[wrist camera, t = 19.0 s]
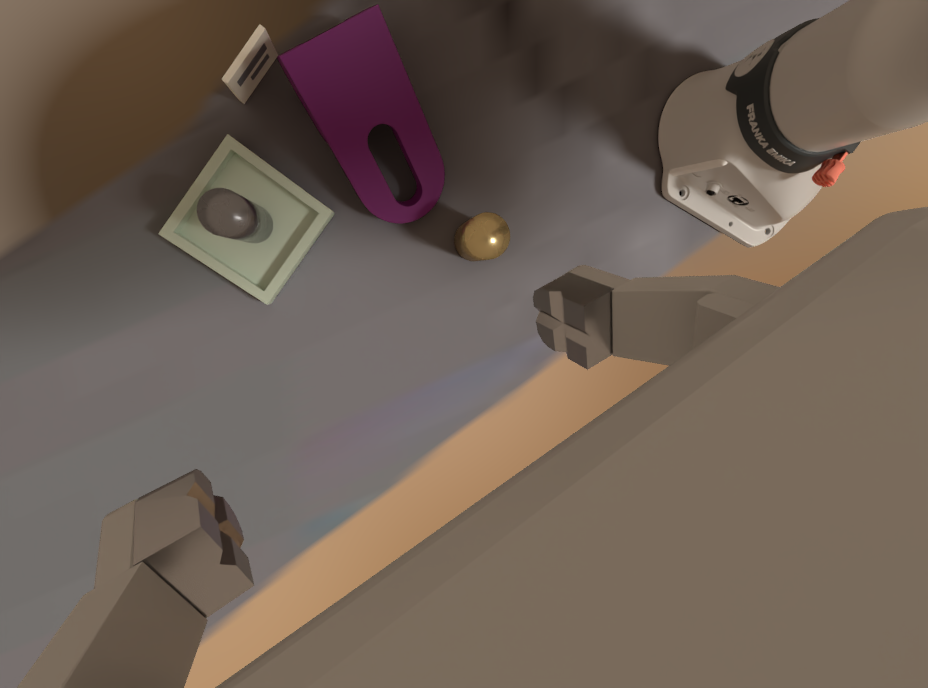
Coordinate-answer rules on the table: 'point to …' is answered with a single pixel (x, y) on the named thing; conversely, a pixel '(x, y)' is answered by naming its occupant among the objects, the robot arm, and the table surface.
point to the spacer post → (233, 216)
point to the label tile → (250, 65)
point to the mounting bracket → (366, 110)
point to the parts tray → (257, 181)
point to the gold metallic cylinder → (482, 237)
